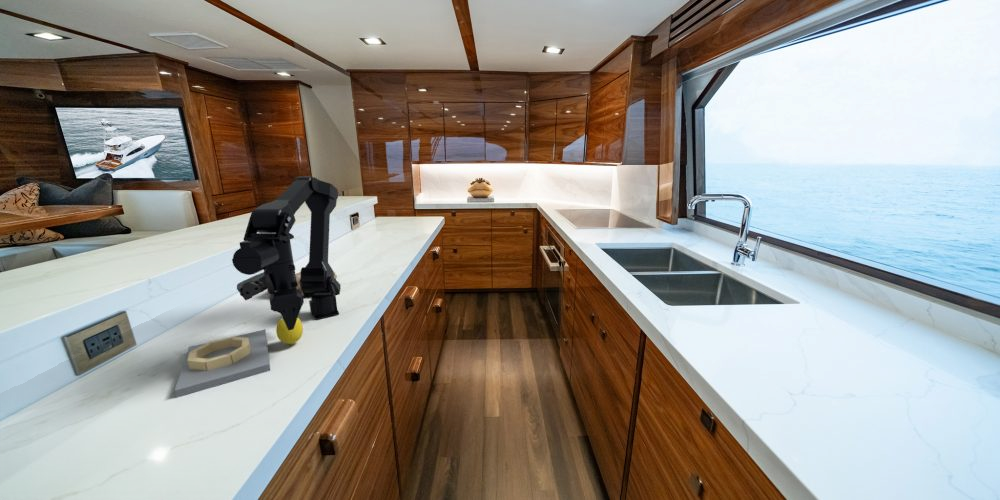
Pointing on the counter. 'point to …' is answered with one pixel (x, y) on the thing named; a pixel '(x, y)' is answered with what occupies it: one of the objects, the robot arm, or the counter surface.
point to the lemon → (289, 332)
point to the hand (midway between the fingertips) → (289, 322)
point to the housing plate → (223, 362)
